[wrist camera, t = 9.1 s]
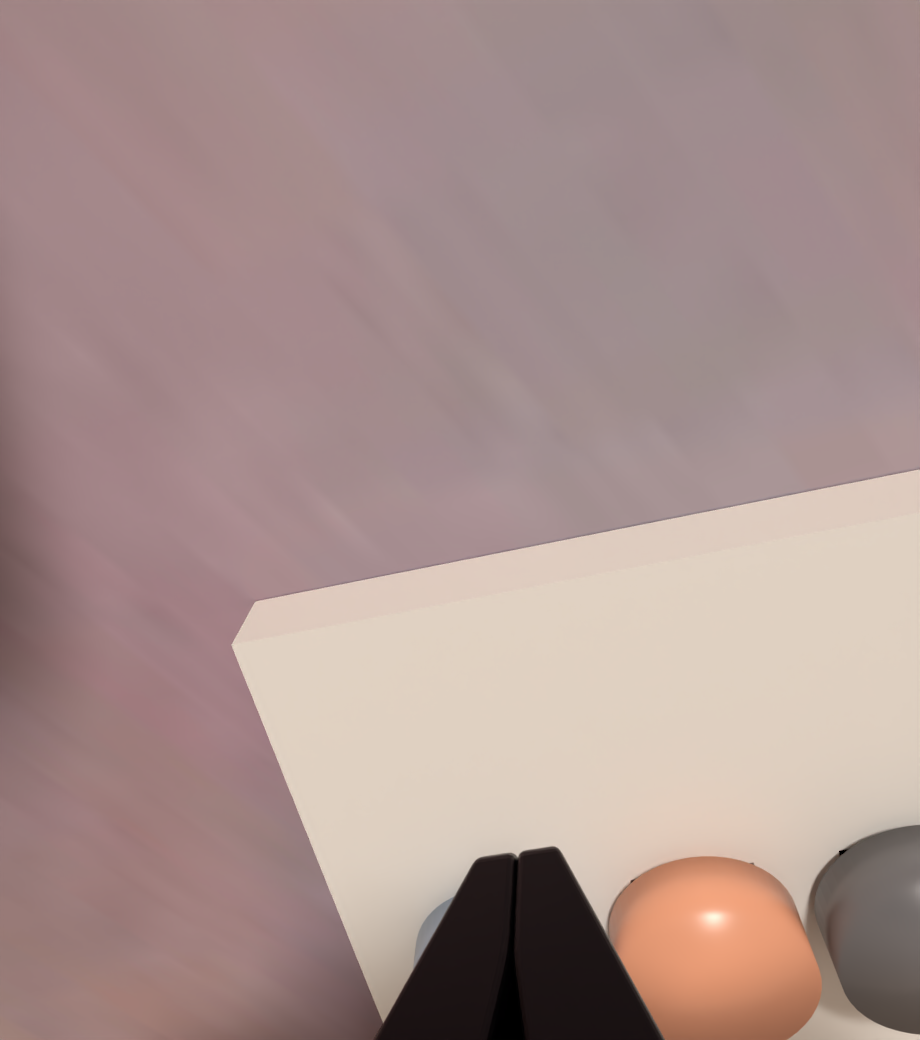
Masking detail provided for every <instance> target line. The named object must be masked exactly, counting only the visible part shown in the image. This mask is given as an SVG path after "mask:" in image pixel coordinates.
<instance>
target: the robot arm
mask: <svg viewBox="0 0 920 1040" xmlns="http://www.w3.org/2000/svg"><path fill="white" fill-rule="evenodd" d="M374 1040H665V1039H664V1037H663V1035H662V1033H661V1031H660V1030H659V1028H658V1026H657V1024H656V1022H655V1020H654V1019H653V1017H652V1015H651V1013H650V1011H649V1010H648V1008H647V1006H646V1004H645V1002H644V1000H643V999H642V997H641V995H640V993H639V991H638V990H637V988H636V986H635V984H634V982H633V981H632V979H631V977H630V975H629V973H628V971H627V970H626V968H625V966H624V964H623V962H622V961H621V959H620V957H619V955H618V953H617V952H616V950H615V948H614V946H613V944H612V942H611V941H610V939H609V937H608V935H607V933H606V932H605V930H604V928H603V926H602V924H601V922H600V921H599V919H598V917H597V915H596V913H595V912H594V910H593V908H592V906H591V904H590V903H589V901H588V899H587V897H586V895H585V893H584V892H583V890H582V888H581V886H580V884H579V883H578V881H577V879H576V877H575V875H574V874H573V872H572V870H571V868H570V866H569V864H568V863H567V861H566V859H565V857H564V855H563V854H562V852H561V850H560V849H559V848H557V847H555V846H550V847H543V848H536V849H529V850H524V851H522V852H521V853H520V854H519V856H518V857H517V856H516V855H515V854H513V853H502V854H496V855H489V856H482V857H479V858H478V859H476V860H475V861H474V862H473V864H472V866H471V867H470V869H469V871H468V873H467V875H466V876H465V878H464V880H463V882H462V883H461V885H460V887H459V889H458V891H457V892H456V894H455V896H454V898H453V900H452V901H451V903H450V905H449V907H448V908H447V910H446V912H445V914H444V916H443V917H442V919H441V921H440V923H439V925H438V926H437V928H436V930H435V932H434V933H433V935H432V937H431V939H430V941H429V942H428V944H427V946H426V948H425V949H424V951H423V953H422V955H421V957H420V958H419V960H418V962H417V964H416V966H415V967H414V969H413V971H412V973H411V974H410V976H409V978H408V980H407V982H406V983H405V985H404V987H403V989H402V991H401V992H400V994H399V996H398V998H397V999H396V1001H395V1003H394V1005H393V1007H392V1008H391V1010H390V1012H389V1014H388V1016H387V1017H386V1019H385V1021H384V1023H383V1024H382V1026H381V1028H380V1030H379V1032H378V1033H377V1035H376V1037H375V1039H374Z"/></svg>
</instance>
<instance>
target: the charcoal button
mask: <svg viewBox="0 0 920 1040" xmlns="http://www.w3.org/2000/svg"><path fill="white" fill-rule="evenodd" d="M814 908H815V916H816V921H817V924H818V926H819V929H820V931H821V934H822V937H823V939H824V942H825V944H826V947H827V949H828V952H829V955H830V957H831V960H832V962H833V965H834V967H835V970H836V972H837V975H838V978H839V980H840V983H841V985H842V988H843V990H844V993H845V995H846V996H847V998H848V1000H849V1001H850V1003H851V1004H852V1005H853V1006H854V1007H855V1008H856V1009H857V1010H858V1011H859V1012H860V1013H861V1014H863V1015H864V1016H865V1017H867V1018H868V1019H870V1020H872V1021H873V1022H875V1023H877V1024H880V1025H882V1026H884V1027H886V1028H890V1029H893V1030H896V1031H900V1032H905V1033H910V1034H919V1035H920V825H913V826H905V827H900V828H895V829H892V830H888V831H885V832H882V833H879V834H877V835H874V836H872V837H869V838H867V839H865V840H863V841H861V842H860V843H858V844H856V845H855V846H853V847H852V848H850V849H848V850H847V851H846V852H845V853H844V854H842V855H841V856H840V857H839V858H838V859H837V860H836V861H835V862H834V863H833V864H832V865H831V866H830V867H829V869H828V870H827V871H826V873H825V874H824V876H823V878H822V880H821V881H820V883H819V886H818V889H817V892H816V896H815V902H814Z"/></svg>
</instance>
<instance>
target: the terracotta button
mask: <svg viewBox="0 0 920 1040" xmlns="http://www.w3.org/2000/svg"><path fill="white" fill-rule="evenodd" d="M609 935H610V941H611V942H612V944H613V946H614V948H615V950H616V952H617V953H618V955H619V957H620V959H621V961H622V962H623V964H624V966H625V968H626V970H627V971H628V973H629V975H630V977H631V979H632V981H633V982H634V984H635V986H636V988H637V990H638V991H639V993H640V995H641V997H642V999H643V1000H644V1002H645V1004H646V1006H647V1008H648V1010H649V1011H650V1013H651V1015H652V1017H653V1019H654V1020H655V1022H656V1024H657V1026H658V1028H659V1030H660V1031H661V1033H662V1035H663V1037H664V1039H665V1040H787V1039H789V1038H790V1037H792V1036H793V1035H794V1034H796V1033H797V1032H798V1031H799V1030H800V1029H801V1028H802V1027H803V1026H804V1025H805V1024H806V1023H807V1022H808V1021H809V1019H810V1018H811V1017H812V1015H813V1014H814V1012H815V1010H816V1008H817V1006H818V1003H819V1000H820V997H821V991H822V979H821V974H820V970H819V967H818V964H817V962H816V959H815V956H814V954H813V951H812V948H811V946H810V943H809V940H808V937H807V935H806V932H805V929H804V927H803V924H802V921H801V919H800V916H799V913H798V910H797V908H796V905H795V903H794V900H793V898H792V896H791V895H790V893H789V892H788V890H787V889H786V888H785V886H784V885H783V884H782V883H781V882H780V881H779V880H778V879H776V878H775V877H774V876H773V875H771V874H770V873H768V872H767V871H765V870H763V869H761V868H759V867H757V866H755V865H753V864H750V863H747V862H744V861H741V860H736V859H732V858H726V857H716V856H701V857H690V858H685V859H679V860H675V861H672V862H669V863H665V864H663V865H660V866H658V867H656V868H653V869H651V870H650V871H648V872H646V873H644V874H643V875H641V876H640V877H638V878H637V879H636V880H634V881H633V882H632V883H631V884H630V885H629V886H628V887H627V888H626V889H625V890H624V891H623V892H622V894H621V895H620V896H619V898H618V899H617V901H616V903H615V905H614V907H613V910H612V912H611V916H610V921H609Z"/></svg>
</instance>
